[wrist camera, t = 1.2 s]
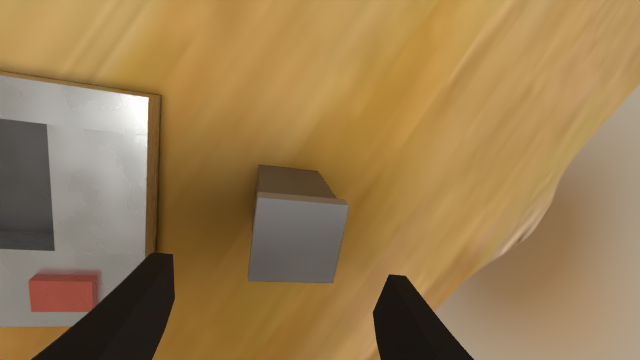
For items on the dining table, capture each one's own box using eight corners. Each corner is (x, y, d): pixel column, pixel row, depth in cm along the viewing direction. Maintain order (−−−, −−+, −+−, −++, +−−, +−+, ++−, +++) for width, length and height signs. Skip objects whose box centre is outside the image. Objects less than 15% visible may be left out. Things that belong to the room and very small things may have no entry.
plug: (310, 226, 23) (333, 283, 17) (249, 222, 22) (247, 281, 16) (320, 168, 22) (349, 205, 15) (255, 161, 21) (257, 197, 14)
